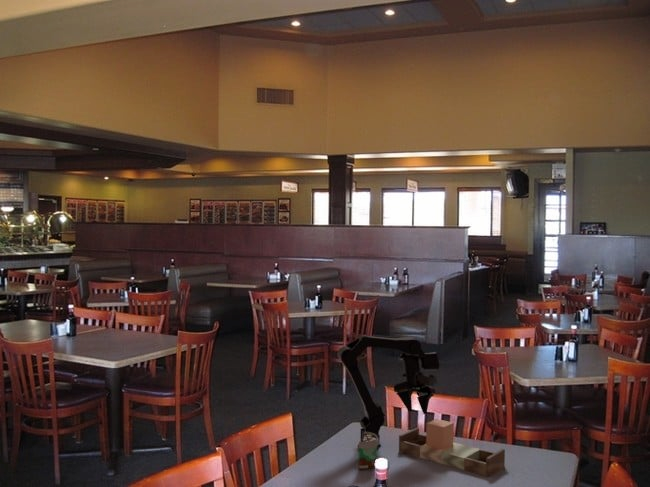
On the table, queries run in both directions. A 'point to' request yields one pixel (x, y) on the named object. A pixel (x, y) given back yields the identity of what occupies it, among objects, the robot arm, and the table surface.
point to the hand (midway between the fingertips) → (417, 412)
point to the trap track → (453, 454)
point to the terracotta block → (439, 434)
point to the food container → (368, 451)
